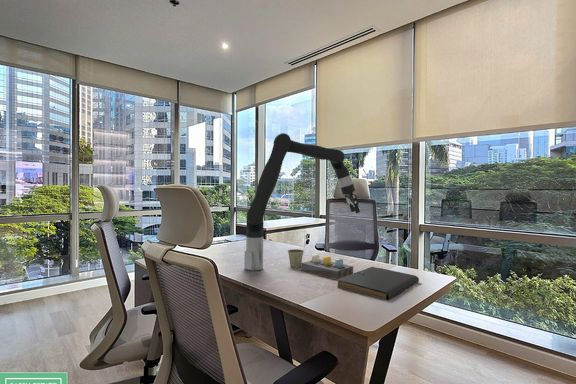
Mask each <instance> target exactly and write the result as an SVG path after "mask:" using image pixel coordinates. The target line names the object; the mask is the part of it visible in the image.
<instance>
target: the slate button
mask: <svg viewBox="0 0 576 384" xmlns="http://www.w3.org/2000/svg"><path fill="white" fill-rule="evenodd" d="M334 262H335V268H338V269H342V268H343V264H344V258H335V259H334Z"/></svg>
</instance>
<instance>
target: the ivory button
mask: <svg viewBox="0 0 576 384" xmlns="http://www.w3.org/2000/svg"><path fill="white" fill-rule="evenodd" d="M319 259H320V254H319V253H313V254H311V260H312V263H315V264H317V263H319Z"/></svg>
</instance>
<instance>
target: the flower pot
mask: <svg viewBox="0 0 576 384" xmlns="http://www.w3.org/2000/svg"><path fill="white" fill-rule="evenodd" d="M304 253H305V250H304V249H295V248H294V249H288V250H287V254H288V259H289V266H290V267H292V268H299V267H300V268H301V263H303V255H304Z"/></svg>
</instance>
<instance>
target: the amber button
mask: <svg viewBox="0 0 576 384" xmlns="http://www.w3.org/2000/svg"><path fill="white" fill-rule="evenodd" d="M322 260H323V265H324V266H331V262H332V257H331V256H330V255H325V256H323V257H322Z"/></svg>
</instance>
